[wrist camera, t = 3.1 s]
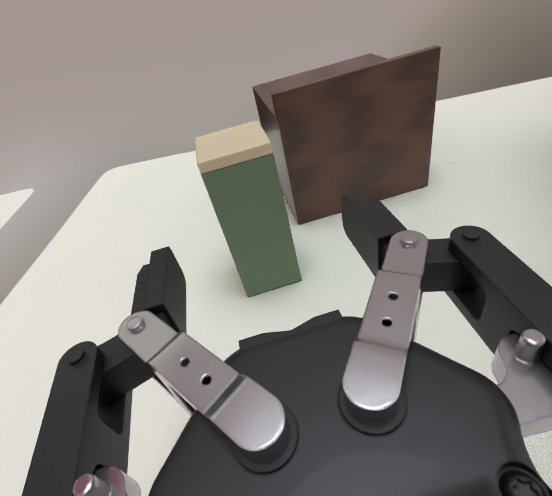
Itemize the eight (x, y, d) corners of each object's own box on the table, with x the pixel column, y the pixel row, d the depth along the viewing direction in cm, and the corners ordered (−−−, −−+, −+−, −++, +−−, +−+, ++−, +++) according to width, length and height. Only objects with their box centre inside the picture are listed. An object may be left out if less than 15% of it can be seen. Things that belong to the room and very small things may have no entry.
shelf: (372, 142, 48) (370, 32, 39) (427, 185, 37) (441, 46, 29) (272, 172, 47) (247, 66, 39) (298, 224, 36) (272, 94, 28)
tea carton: (288, 247, 34) (257, 119, 26) (301, 280, 30) (271, 141, 22) (240, 262, 34) (194, 137, 25) (247, 297, 30) (196, 163, 22)
